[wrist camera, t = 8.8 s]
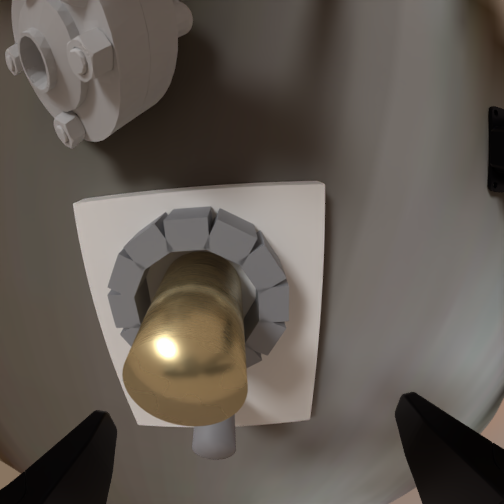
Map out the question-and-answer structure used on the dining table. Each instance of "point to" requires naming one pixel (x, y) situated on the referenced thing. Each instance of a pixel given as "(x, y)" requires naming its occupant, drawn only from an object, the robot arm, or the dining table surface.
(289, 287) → the stone fire pit
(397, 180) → the dining table surface
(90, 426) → the robot arm
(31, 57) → the mechanical valve
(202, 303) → the brass cylinder
